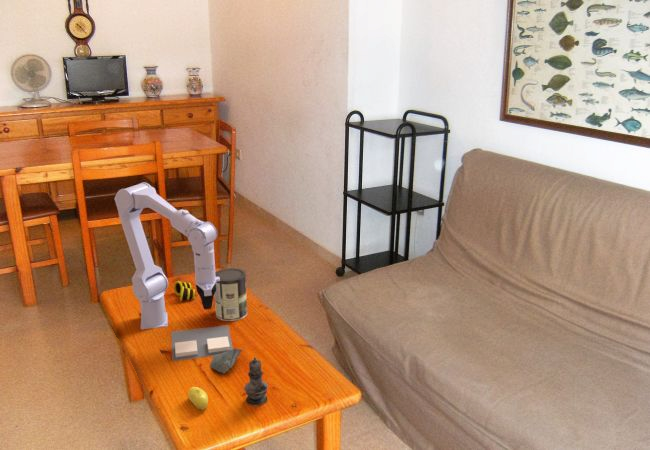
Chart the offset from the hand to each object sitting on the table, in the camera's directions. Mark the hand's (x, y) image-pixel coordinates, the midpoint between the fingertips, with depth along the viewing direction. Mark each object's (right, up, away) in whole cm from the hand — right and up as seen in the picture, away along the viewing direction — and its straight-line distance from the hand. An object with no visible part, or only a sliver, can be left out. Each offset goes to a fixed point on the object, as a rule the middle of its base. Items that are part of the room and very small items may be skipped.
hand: (207, 308), depth 175 cm
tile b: (+3, -9, 0) cm, 10 cm away
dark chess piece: (+17, -19, -26) cm, 37 cm away
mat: (-2, -10, 0) cm, 11 cm away
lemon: (+3, -20, -27) cm, 34 cm away
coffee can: (+4, -5, +18) cm, 19 cm away
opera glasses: (-14, 0, +30) cm, 33 cm away
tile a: (-6, -10, -3) cm, 12 cm away
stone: (+7, -15, -11) cm, 19 cm away
